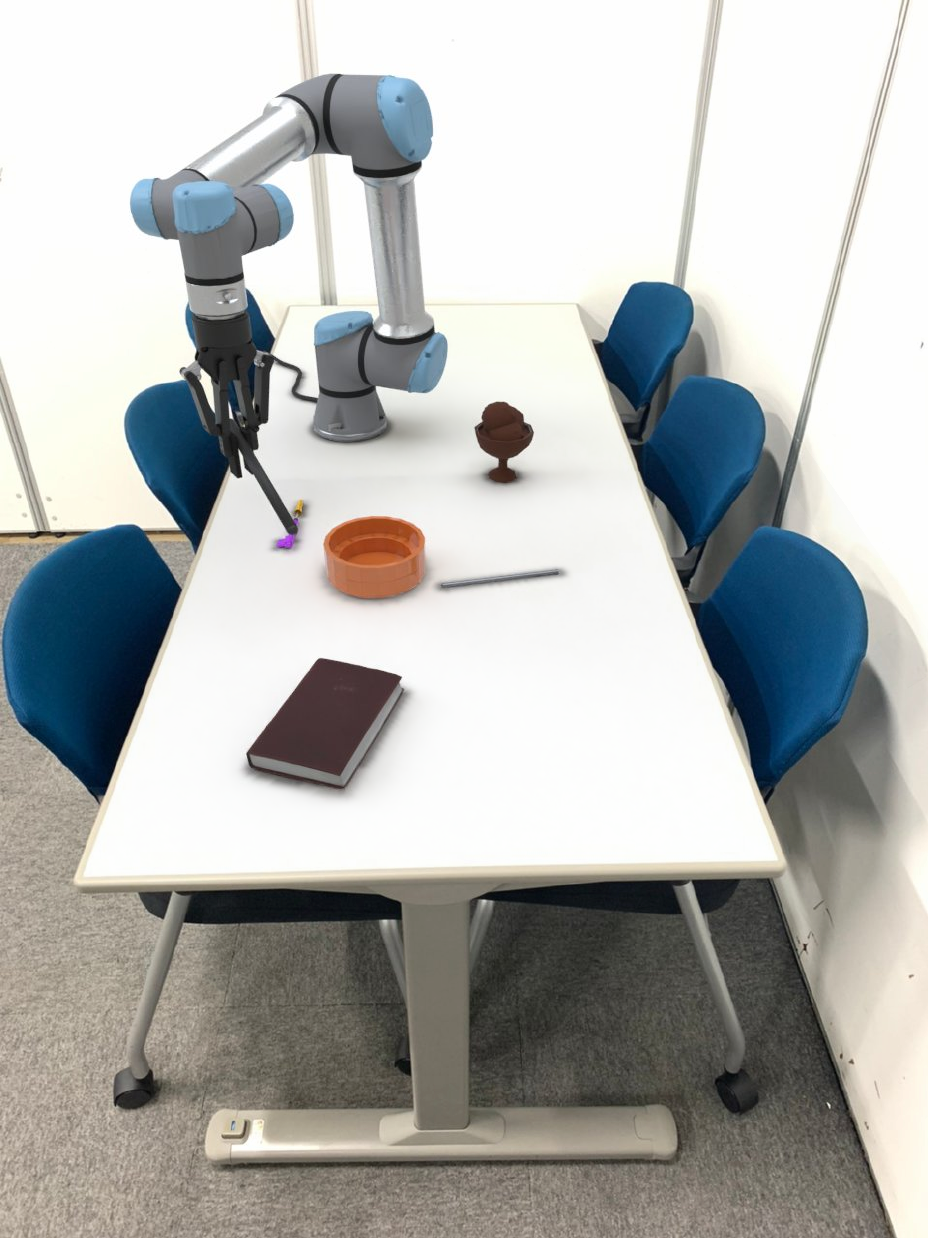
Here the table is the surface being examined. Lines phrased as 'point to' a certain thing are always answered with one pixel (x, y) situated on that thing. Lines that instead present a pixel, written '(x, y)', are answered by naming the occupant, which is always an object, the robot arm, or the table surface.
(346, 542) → the bowl
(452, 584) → the rod
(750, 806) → the table surface
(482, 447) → the ice cream bowl
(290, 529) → the stick
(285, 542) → the purple gold bent tool
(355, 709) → the book
